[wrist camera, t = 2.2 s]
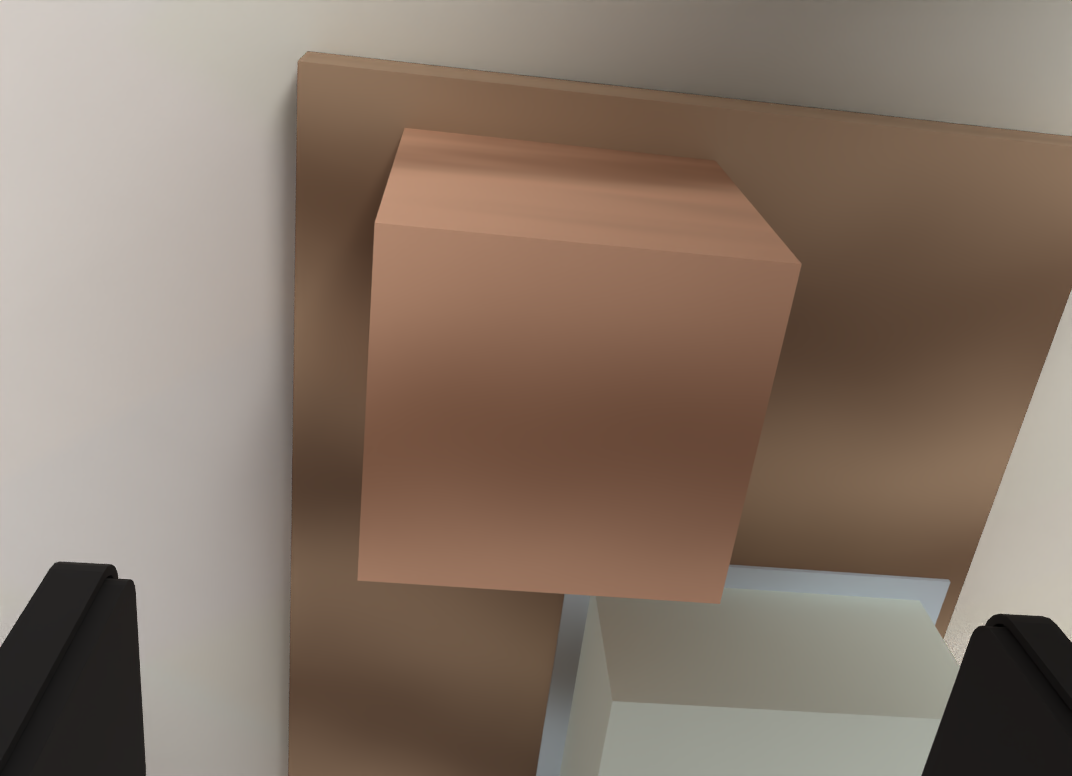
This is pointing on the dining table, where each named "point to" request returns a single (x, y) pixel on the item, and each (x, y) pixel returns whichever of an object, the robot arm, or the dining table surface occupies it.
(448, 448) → the top block
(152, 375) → the dining table surface
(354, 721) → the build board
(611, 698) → the base block
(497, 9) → the dining table surface
